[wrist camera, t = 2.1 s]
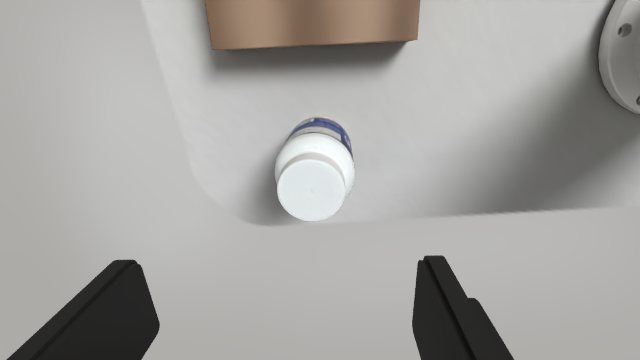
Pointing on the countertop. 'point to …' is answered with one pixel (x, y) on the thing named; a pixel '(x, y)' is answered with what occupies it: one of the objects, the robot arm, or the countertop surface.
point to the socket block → (309, 22)
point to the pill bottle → (315, 169)
